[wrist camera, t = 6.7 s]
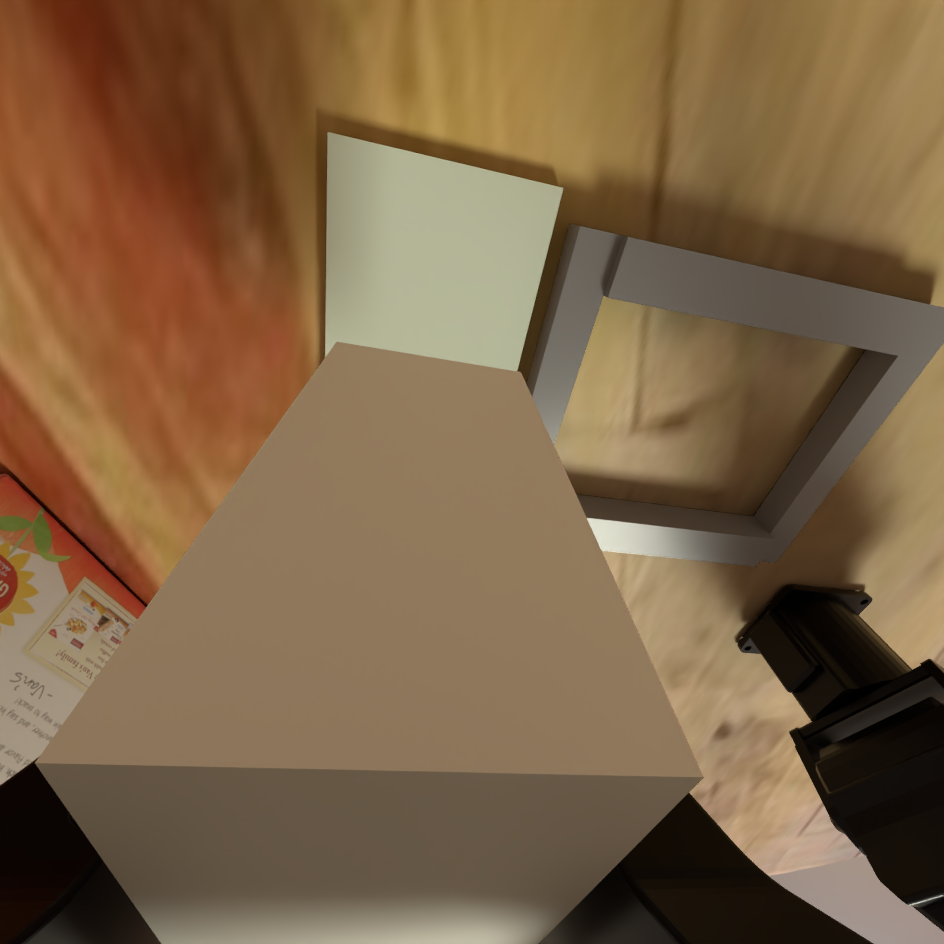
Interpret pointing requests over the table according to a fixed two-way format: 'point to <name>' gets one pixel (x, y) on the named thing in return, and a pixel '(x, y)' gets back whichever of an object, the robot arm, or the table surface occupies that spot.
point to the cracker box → (49, 625)
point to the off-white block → (379, 685)
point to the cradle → (748, 303)
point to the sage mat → (432, 254)
